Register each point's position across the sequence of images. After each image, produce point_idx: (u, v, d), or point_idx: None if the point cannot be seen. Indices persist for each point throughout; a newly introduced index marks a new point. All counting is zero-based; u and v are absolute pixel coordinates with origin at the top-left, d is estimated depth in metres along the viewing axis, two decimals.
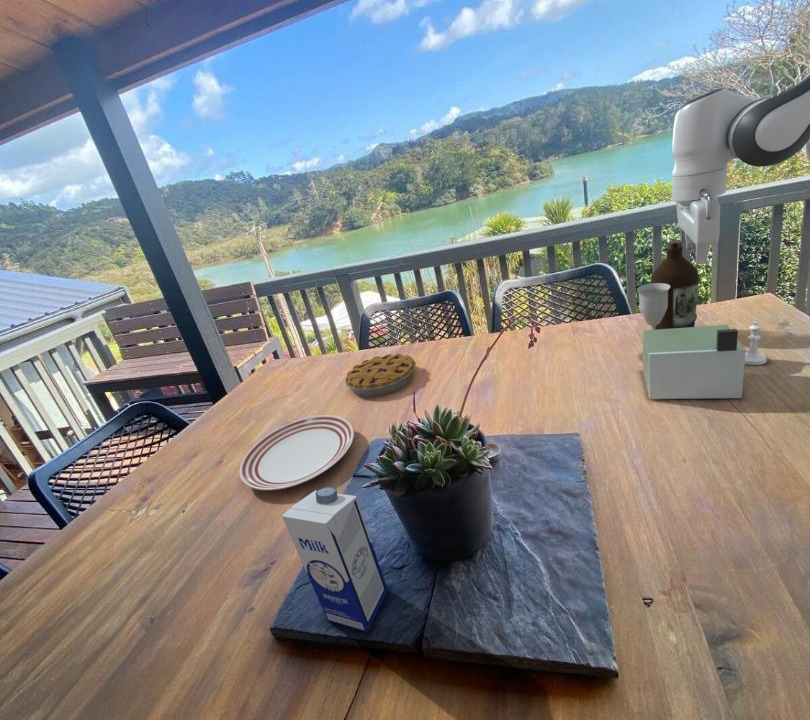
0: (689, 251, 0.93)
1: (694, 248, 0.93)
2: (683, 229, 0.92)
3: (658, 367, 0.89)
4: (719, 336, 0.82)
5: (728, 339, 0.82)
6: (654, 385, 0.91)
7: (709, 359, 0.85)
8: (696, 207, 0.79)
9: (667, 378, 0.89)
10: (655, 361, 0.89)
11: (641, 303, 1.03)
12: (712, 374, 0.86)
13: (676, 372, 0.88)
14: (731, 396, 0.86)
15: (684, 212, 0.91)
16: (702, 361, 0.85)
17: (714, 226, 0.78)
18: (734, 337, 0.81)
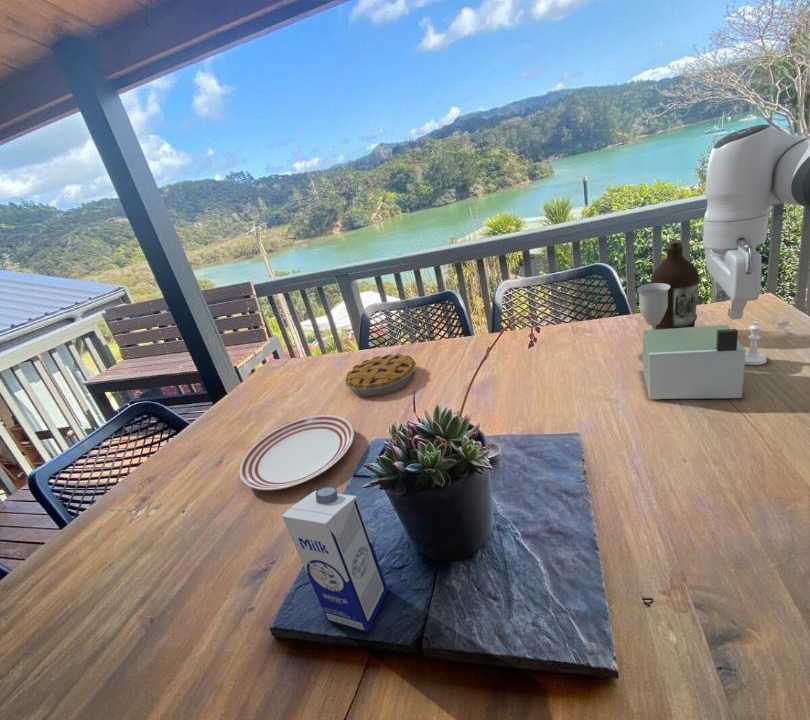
0: (719, 300, 0.84)
1: (725, 297, 0.83)
2: (713, 276, 0.82)
3: (658, 367, 0.89)
4: (719, 336, 0.82)
5: (728, 339, 0.82)
6: (654, 385, 0.91)
7: (709, 359, 0.85)
8: (734, 259, 0.70)
9: (667, 378, 0.89)
10: (655, 361, 0.89)
11: (641, 303, 1.03)
12: (712, 374, 0.86)
13: (676, 372, 0.88)
14: (731, 396, 0.86)
15: (715, 257, 0.81)
16: (702, 361, 0.85)
17: (755, 282, 0.69)
18: (734, 337, 0.81)
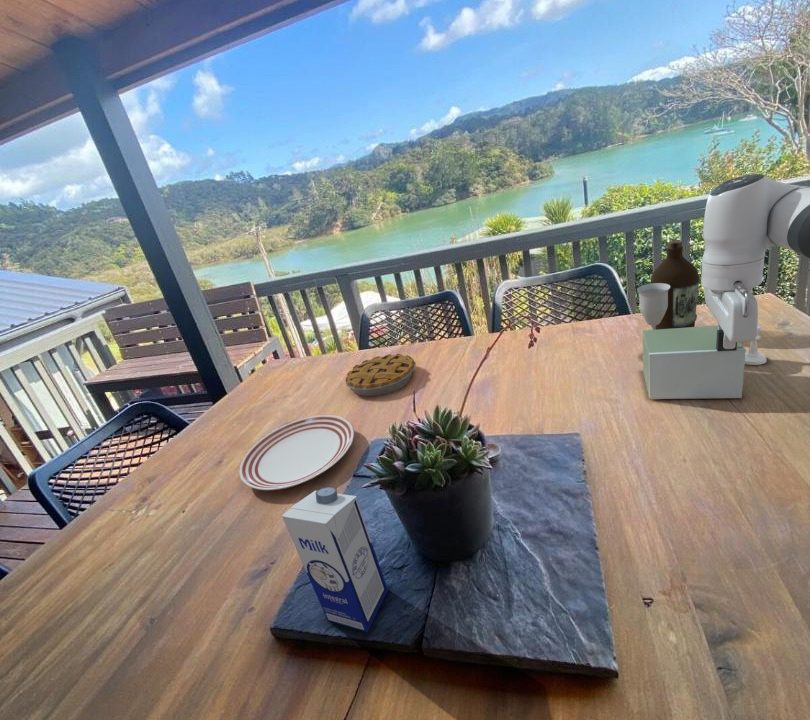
0: None
1: None
2: (712, 312, 0.84)
3: (658, 367, 0.89)
4: (719, 336, 0.82)
5: None
6: (654, 385, 0.91)
7: (709, 359, 0.85)
8: (731, 302, 0.72)
9: (667, 378, 0.89)
10: (655, 361, 0.89)
11: (641, 303, 1.03)
12: (712, 374, 0.86)
13: (676, 372, 0.88)
14: (731, 396, 0.86)
15: None
16: (702, 361, 0.85)
17: (751, 324, 0.71)
18: None
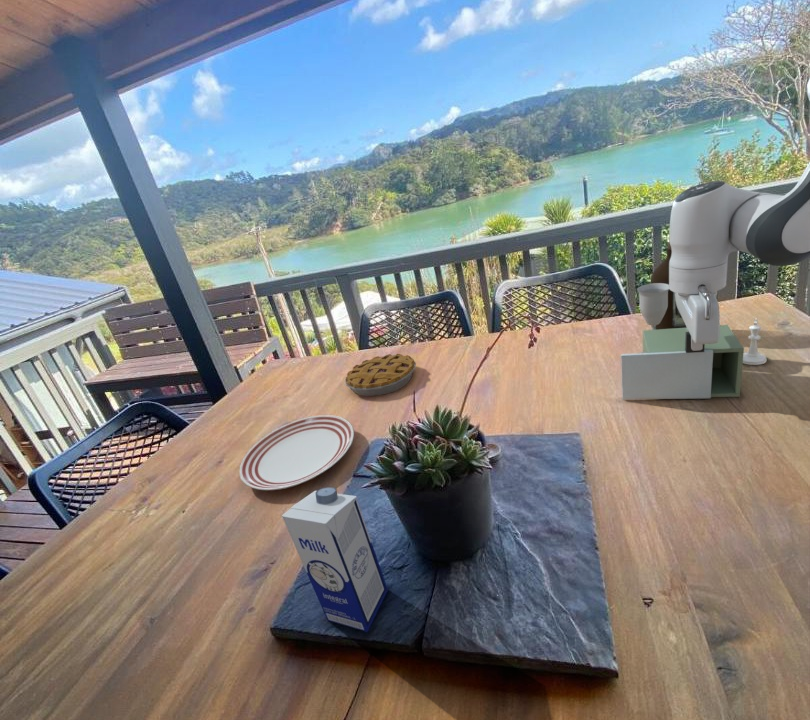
0: None
1: None
2: (681, 315, 0.87)
3: (630, 368, 0.91)
4: (687, 338, 0.84)
5: None
6: (627, 386, 0.93)
7: (678, 360, 0.87)
8: (694, 305, 0.75)
9: (639, 379, 0.91)
10: (627, 362, 0.91)
11: (642, 303, 1.03)
12: (682, 375, 0.88)
13: (647, 373, 0.90)
14: (700, 396, 0.89)
15: None
16: (672, 362, 0.88)
17: (713, 327, 0.73)
18: None
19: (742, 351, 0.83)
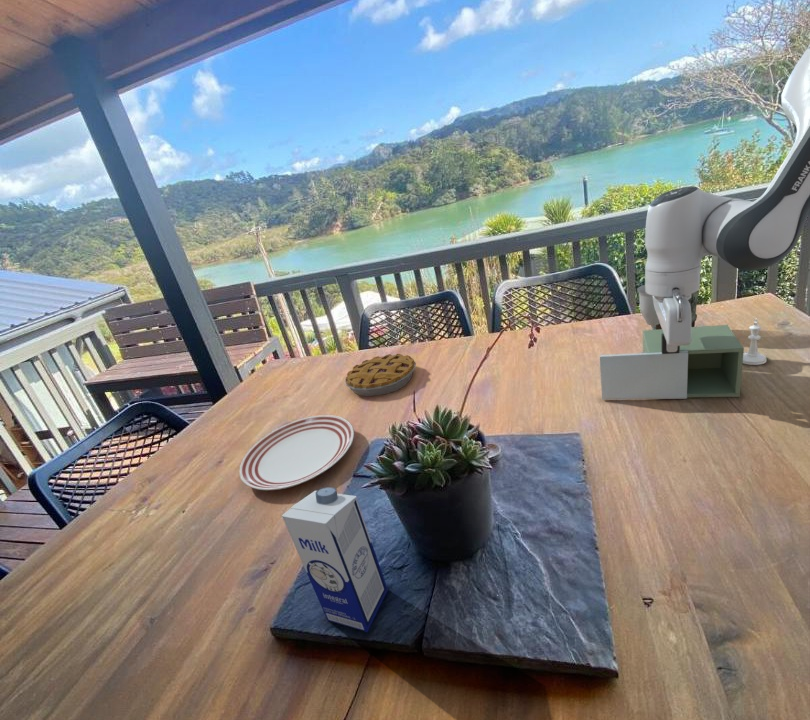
0: None
1: None
2: (658, 317, 0.88)
3: (608, 369, 0.93)
4: (663, 339, 0.86)
5: None
6: (606, 386, 0.95)
7: (655, 361, 0.89)
8: (667, 308, 0.76)
9: (617, 379, 0.93)
10: (605, 363, 0.92)
11: (642, 303, 1.03)
12: (658, 376, 0.90)
13: (625, 374, 0.92)
14: (677, 397, 0.90)
15: None
16: (649, 363, 0.89)
17: (685, 329, 0.75)
18: None
19: (742, 351, 0.83)
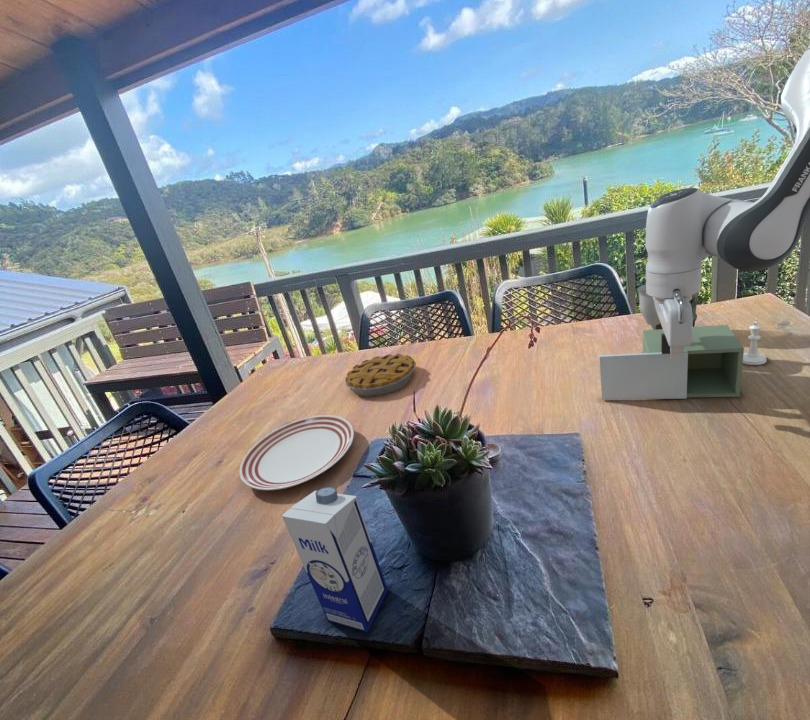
0: None
1: None
2: (659, 318, 0.88)
3: (608, 369, 0.93)
4: (663, 339, 0.86)
5: None
6: (605, 386, 0.95)
7: (654, 361, 0.89)
8: (668, 309, 0.76)
9: (617, 379, 0.93)
10: (605, 363, 0.92)
11: (642, 303, 1.03)
12: (658, 376, 0.90)
13: (625, 374, 0.92)
14: (677, 397, 0.90)
15: None
16: (648, 363, 0.89)
17: (687, 330, 0.75)
18: None
19: (742, 351, 0.83)
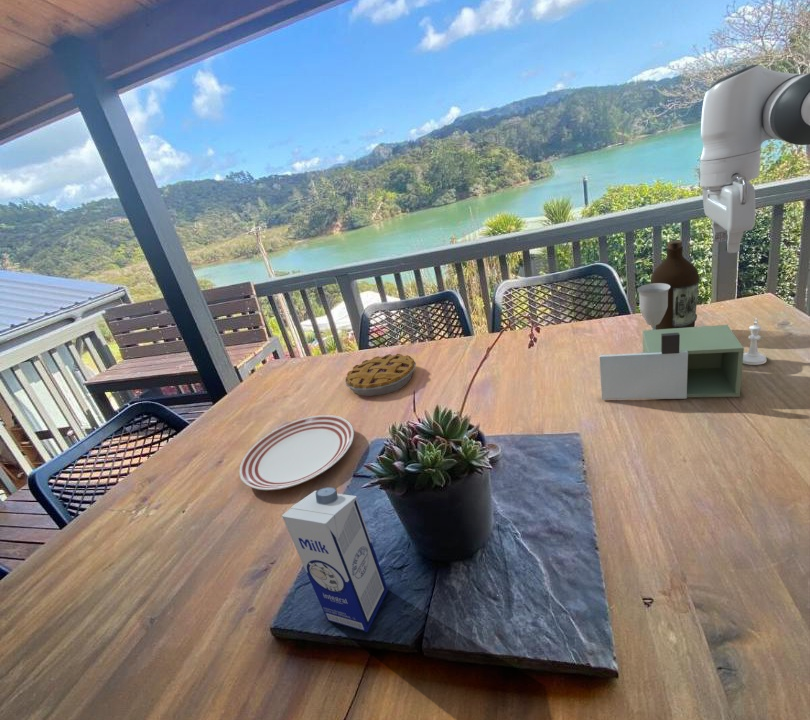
0: (717, 240, 0.89)
1: (722, 237, 0.88)
2: (711, 217, 0.87)
3: (608, 369, 0.93)
4: (663, 339, 0.86)
5: (671, 342, 0.86)
6: (605, 386, 0.95)
7: (654, 361, 0.89)
8: (729, 192, 0.75)
9: (617, 379, 0.93)
10: (605, 363, 0.92)
11: (642, 303, 1.03)
12: (658, 376, 0.90)
13: (625, 374, 0.92)
14: (677, 397, 0.90)
15: (712, 199, 0.86)
16: (648, 363, 0.89)
17: (749, 211, 0.74)
18: (676, 340, 0.85)
19: (742, 351, 0.83)
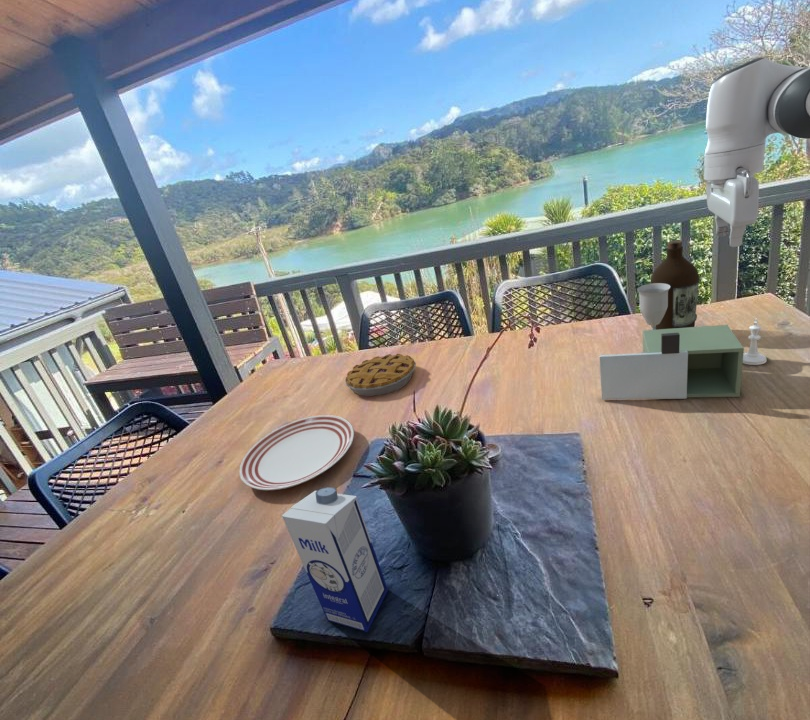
0: (720, 235, 0.89)
1: (725, 231, 0.88)
2: (714, 211, 0.87)
3: (608, 369, 0.93)
4: (663, 339, 0.86)
5: (671, 342, 0.86)
6: (605, 386, 0.95)
7: (654, 361, 0.89)
8: (733, 185, 0.75)
9: (617, 379, 0.93)
10: (605, 363, 0.92)
11: (642, 303, 1.03)
12: (658, 376, 0.90)
13: (625, 374, 0.92)
14: (677, 397, 0.90)
15: (715, 193, 0.86)
16: (648, 363, 0.89)
17: (752, 205, 0.74)
18: (676, 340, 0.85)
19: (742, 351, 0.83)
